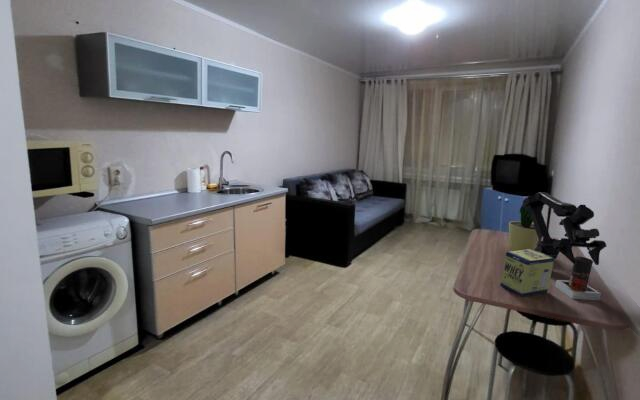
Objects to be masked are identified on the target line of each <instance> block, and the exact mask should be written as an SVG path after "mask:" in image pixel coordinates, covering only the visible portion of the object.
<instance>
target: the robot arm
mask: <svg viewBox="0 0 640 400" xmlns="http://www.w3.org/2000/svg"><path fill="white" fill-rule="evenodd" d="M522 204H523V206H524V208H525V210H526V211H527V212H528V213H529V214H530V215H531V218H532V221H533V223H532V224H534V227H535V230H536V233H537V236H538V238H537V240H538V241H537V242H536V247H534V248H533V250H536V251H538V252H541V253H543V254H546V255H548V256H551V257H553V258H555V259H554V260H556V259H557V257H558V256H559V254H560V253H561V254H562V255H563V256H564V257H566V258H567V259H568V260H569V261H570V262H571V263H572V264H575V263H576V261H575V255H574V253H573V252H574V251H573V248H586V250H587V251H588V252H587V253H588V255H589V257H590V258H591V260H592V261H593V263H594V264H595V266H599V264H600V254H601V252H602V250H604V249H605V248H607V244H606V242H605V241H604V240H601V239H600V240H598V239H596V238H597V237H600V231H599V230H598V228H590V229H584V228H582V226H581V225H584V224H586V223H588V221H590V220H591V219H593V218H594V217H595V213H594V211H593V210H592V209H591V208H590V207H587V206H586V204H579V205H578V206H577V205H575V204H573V203H569V202H563V201H562V200H560V199H558V198H556V197H555V196H552V195H550V193H548V192H545V191H544V192H541V191H540V192H539V191H538V192H536V193H534V194H532V195H528V196H527V197H526V198H525V199H523V201H522ZM545 205H546V206H548V207H549V208H551V209H552V213H554V214H555V216H557V217H558V218H559V217H560V218H562V217H563V218H562V219H560V222H559V223H558V224H559V226H562V227H563V228H564V231H565V234H564V237H559V238H558V239H556V238H552V237H551V235H550V233H549V229H548V227H547V223H546V221H545V218H544V215H543V212H542V211H543V209H544V206H545ZM591 239H594V240H592V241H590V240H591ZM589 241H590V242H589Z"/></svg>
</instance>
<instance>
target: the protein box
mask: <svg viewBox="0 0 640 400" xmlns="http://www.w3.org/2000/svg"><path fill="white" fill-rule="evenodd" d="M504 258H505V259H504V264H503V267H502V268H503V269H502V273H501V278H500V279H501V280H500V287H502V288H504V289H506V290H508V291H509V292H512V293H513V294H515V295H517V296H519V297H527V296H533V295H539V294H545V293H548V291H549V285H550V281H551V276H552V271H553V268H554V262H555V260H556V259H555V258H553V257H551V256H548V255H546V254H543V253H541V252H538V251H536V250H534V248H533V249H527V250H519V251H511V250H509V251H506V252H505V257H504Z"/></svg>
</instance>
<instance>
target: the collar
mask: <svg viewBox="0 0 640 400" xmlns="http://www.w3.org/2000/svg"><path fill="white" fill-rule="evenodd" d="M569 281H570V280H568V279H567V280H565V279H556V281H555V288H557V289H558V290H559V291H561V292H562V293H564V294H565V295H567V296H568V297H569V298H571V299H573V300H574V299H575V300H587V301H588V299H589V301H600V299H601V295H602V293H601V292H599V291H598V290H597V289H595V288H593V287H591V286H590V285H588V284H587V288H586V291H575V290H573V289H572V288H570V287H569Z"/></svg>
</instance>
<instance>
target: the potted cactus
mask: <svg viewBox="0 0 640 400" xmlns="http://www.w3.org/2000/svg"><path fill="white" fill-rule="evenodd" d="M518 209H519V210H518V211H519V212H518V213H519V216H520V220H519V221H514V220H513V221H509V222H508V249H509V251H519V250H527V249H533V250H534V249H535V246H536V244H537V242H538V241H537V240H538V236H537V233H536V230H535V227H534V224H533V221H532V218H531V215H530V214H529V213H528V212H527V211H526V210H525V208H524V206H523V203H522V204H521V206H520V207H519V208H518Z"/></svg>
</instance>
